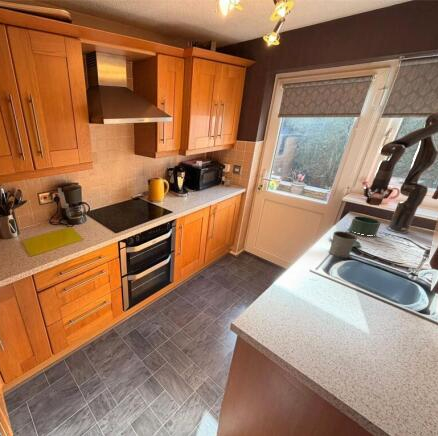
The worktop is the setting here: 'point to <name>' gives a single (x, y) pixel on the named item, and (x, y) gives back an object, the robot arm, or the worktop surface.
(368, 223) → the tin
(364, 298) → the worktop surface
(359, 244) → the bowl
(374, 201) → the block
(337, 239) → the grey cup
